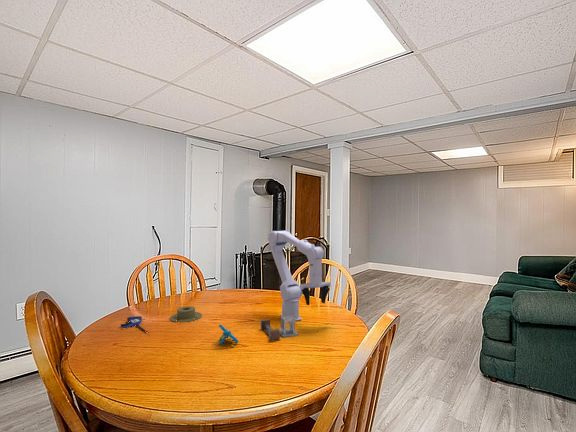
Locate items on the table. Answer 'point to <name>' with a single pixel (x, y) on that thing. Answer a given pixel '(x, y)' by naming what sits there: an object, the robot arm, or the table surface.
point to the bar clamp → (133, 322)
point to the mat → (288, 333)
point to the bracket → (291, 324)
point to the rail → (270, 330)
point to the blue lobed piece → (226, 335)
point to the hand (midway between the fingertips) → (315, 303)
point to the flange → (186, 314)
